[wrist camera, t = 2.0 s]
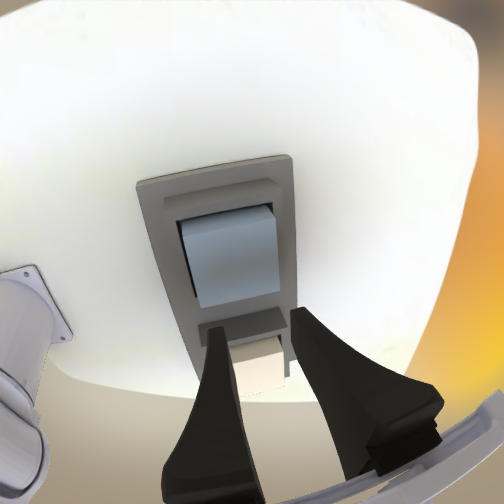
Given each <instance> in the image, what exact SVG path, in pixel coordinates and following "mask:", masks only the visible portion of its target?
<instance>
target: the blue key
mask: <svg viewBox="0 0 504 504" xmlns="http://www.w3.org/2000/svg"><path fill="white" fill-rule="evenodd" d="M182 235H183V241H184V245H185V249H186V253H187V257H188V261H189V265H190V269H191V273H192V277H193V281H194V284H195V288H196V292H197V296H198V299H199V303H200V307H201V308H205V307H210V306H215V305H219V304H224V303H229V302H233V301H238V300H242V299H246V298H251V297H255V296H260V295H264V294H268V293H272V292H277V291H280V278H279V262H278V246H277V232H276V218H275V217H274V215H273V214H272V212H271V211H270V210H269V208H268V207H267V206H266V204H264V205H259V206H254V207H248V208H243V209H238V210H232V211H227V212H222V213H217V214H212V215H207V216H202V217H197V218H193V219H188V220H183V221H182Z"/></svg>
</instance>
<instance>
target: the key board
mask: <svg viewBox="0 0 504 504" xmlns="http://www.w3.org/2000/svg"><path fill="white" fill-rule="evenodd" d="M136 191H137V195H138V199H139V203H140V206H141V210H142V214H143V217H144V221H145V225H146V228H147V232H148V235H149V239H150V242H151V246H152V249H153V252H154V255H155V259H156V262H157V265H158V268H159V272H160V275H161V278H162V281H163V284H164V287H165V290H166V293H167V296H168V299H169V302H170V305H171V308H172V310H173V313H174V316H175V319H176V322H177V324H178V327H179V330H180V333H181V335H182V338H183V341H184V343H185V346H186V349H187V351H188V354H189V356H190V359H191V361H192V364H193V366H194V369H195V371H196V374H197V376H198V379H199V381H200V382H201V378H202V374H203V369H204V363H205V357H206V349H207V331H208V330H209V329H210V328H215V327H220V326H224V330H225V335H226V339H227V343H228V347H230V346H234V345H239V344H243V343H247V342H252V341H256V340H260V339H264V338H268V337H272V336H276V335H277V337H278V340H279V342H280V344H281V347H282V349H283V354H284V378H285V377H289V376H290V371H289V361H293V360H297V357H296V355H295V352H294V349H293V346H292V343H291V328H290V310H292V309H296V308H297V261H296V228H295V203H294V182H293V164H292V158H291V157H290V156H288V155H281V156H274V157H267V158H260V159H253V160H247V161H241V162H235V163H229V164H223V165H217V166H212V167H207V168H201V169H196V170H191V171H186V172H181V173H176V174H172V175H167V176H162V177H158V178H154V179H149V180H145V181H141V182H137V185H136ZM264 204H266V206H267V207H268V208H269V210H270V211H271V212H272V214H273V215H274V217H275V218H276V232H277V246H278V262H279V278H280V291H277V292H272V293H268V294H264V295H260V296H255V297H251V298H246V299H242V300H238V301H233V302H229V303H224V304H219V305H215V306H210V307H205V308H201V307H200V303H199V299H198V296H197V292H196V288H195V284H194V281H193V277H192V273H191V269H190V265H189V261H188V257H187V253H186V249H185V245H184V241H183V235H182V221H183V220H188V219H193V218H197V217H202V216H207V215H212V214H217V213H222V212H227V211H232V210H238V209H243V208H248V207H254V206H259V205H264Z"/></svg>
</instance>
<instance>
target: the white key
mask: <svg viewBox="0 0 504 504" xmlns="http://www.w3.org/2000/svg"><path fill="white" fill-rule="evenodd" d="M229 351H230V355H231V359H232V364H233V368H234V372H235V375H236V381H237V388H238V394H239V398H240V397H245V396H249V395H253V394H257V393H261V392H265V391H269V390H273V389H277V388H280V387H284V386H285V378H284V354H283V349H282V347H281V344H280V342H279V340H278V337H277V335H276V336H272V337H268V338H264V339H260V340H256V341H252V342H247V343H243V344H239V345H234V346H230V347H229Z"/></svg>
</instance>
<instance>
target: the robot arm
mask: <svg viewBox="0 0 504 504" xmlns="http://www.w3.org/2000/svg"><path fill="white" fill-rule="evenodd" d="M26 272H27V273H28V274H29V275H28V274H26ZM290 328H291V343H292V346H293V349H294V352H295V355H296V357H297V360H298V362H299V364H300V366H301V368H302V370H303V372H304V374H305V376H306V378H307V380H308V382H309V384H310V386H311V388H312V390H313V392H314V393H315V395H316V397H317V399H318V401H319V404H320V406H321V408H322V411H323V413H324V416H325V419H326V421H327V424H328V427H329V430H330V432H331V435H332V438H333V441H334V444H335V447H336V450H337V453H338V455H339V459H340V462H341V465H342V469H343V472H344V475H345V479H346V481H345V482H343V483H340V484H338V485H335V486H332V487H329V488H326V489H324V490H321V491H318V492H315V493H312V494H308V495H305V496H302V497H298V498H295V499H292V500H288V501H284V502H281V503H277V504H332V503H335V502H338V501H340V500H343V499H346V498H348V497H351V496H353V495H355V494H358V493H360V492H362V491H365V490H367V489H370V488H372V487H374V486H376V485H378V484H381V483H383V482H385V481H387V480H389V479H391V478H393V477H395V476H397V475H399V474H401V473H403V472H404V471H406V472H404V473H403V474H401V475H400V476H398V477H396V478H394V479H393V480H391V481H389V483H388V485H386V486H385V487H384V488H382V489H381V490H379V491H378V494H377V495H375V496H372V497H370V498H368V499H365V500H363V501H360V502H358V503H355V504H433V502H432V500H431V498H432V497H434V496H435V495H437V494H438V493H440V492H441V491H443V490H444V489H446V488H447V487H449V486H450V485H452V484H453V483H455V482H456V481H457V480H459V479H460V478H462V477H463V476H464V475H466V474H467V473H468V472H470V471H471V470H472V469H473V468H475V467H476V466H477V465H479V464H480V463H481V462H482V461H483V460H485V459H486V458H487V457H488V456H490V455H491V454H492V453H493V452H494V451H495V450H496V449H497V448H499V447H500V446H501V445H502V444H503V443H504V394H503V393H502V391H501V390H500V389H498V390H497V391H495V392H494V393H493V394H492V395H490V396H489V397H488V398H487V399H485V400H484V401H483V402H482V403H481V404H480V405H479V406H478V408H477V409H476V411H474V412H473V413H472V414H470V415H469V416H467V417H466V418H464V419H463V420H462V421H460V422H459V423H457V424H456V425H454V426H453V427H451V428H449V429H448V430H447V431H445V432H443V433H442V434H440V435H439V433H438V432H437V430H436V429H435V428H436V427H437V424H436V422H435V420H434V419H435V417H436V416H437V415H438V413H439V412H440V410H441V409H442V408H443V406H444V400H443V398H442V397H441V395H440V394H439V392H438V391H437V390H436V389H435V387H434V386H433V385H431V384H427V383H424V382H420V381H417V380H414V379H411V378H408V377H406V376H403V375H401V374H398V373H396V372H394V371H392V370H390V369H387V368H385V367H383V366H381V365H379V364H378V363H376V362H374V361H372V360H370V359H369V358H367V357H365V356H364V355H362V354H361V353H359V352H358V351H356V350H355V349H353V348H352V347H351V346H349V345H348V344H346V343H345V342H344V341H342V340H341V339H340V338H339V337H337V336H336V335H335V334H334V333H333V332H331V331H330V330H329V329H328V328H327V327H325V326H324V325H323V324H322V323H321V322H320V321H319V320H318V319H317V318H316V317H315V316H314V315H312V314H311V313H310V312H309V311H308V310H307V309H306V308H305V307H300V308H296V309H292V310H290ZM62 336H63V337H62ZM72 338H73V335H72V333H71V331H70V330H69V328H68V326H67V325H66V323H65V321H64V320H63V318H62V316H61V314H60V313H59V311H58V309H57V307H56V305H55V304H54V302H53V300H52V298H51V296H50V294H49V293H48V291H47V289H46V287H45V285H44V283H43V281H42V279H41V277H40V275H39V273H38V271H37V269H36V268H35V267H34V266H27V267H23V268H20V269H16V270H12V271H9V272H5V273H1V274H0V504H28V503H29V501H30V499H31V497H32V496H33V495H34V493H35V492H36V491H37V490H38V489H39V488H40V487H41V485H42V484H43V482H44V481H45V479H46V477H47V474H48V471H49V467H50V446H49V443H48V439H47V437H46V435H45V434H44V432H43V431H42V430H41V429H40V428H38V426H39V420H40V414H38V413H37V412H36V411H35V409H34V403H35V399H36V395H37V391H38V386H39V382H40V378H41V374H42V370H43V367H44V363H45V360H46V356H47V353H48V349H49V346H50V344H53V343H60V342H67V341H71V340H72ZM408 469H409V470H408ZM407 470H408V471H407ZM161 490H162V497H163V502H164V503H165V504H265V503H266V502H265V498H264V495H263V492H262V489H261V485H260V482H259V479H258V475H257V472H256V468H255V465H254V462H253V458H252V455H251V451H250V447H249V444H248V441H247V437H246V433H245V429H244V425H243V420H242V414H241V407H240V401H239V394H238V388H237V381H236V375H235V372H234V368H233V364H232V359H231V355H230V351H229V347H228V343H227V339H226V335H225V330H224V326H220V327H215V328H210V329H209V330H208V331H207V349H206V357H205V363H204V369H203V374H202V378H201V382H200V386H199V390H198V393H197V396H196V400H195V403H194V406H193V408H192V411H191V414H190V416H189V419H188V421H187V424H186V426H185V428H184V430H183V432H182V434H181V437H180V439H179V440H178V443H177V445H176V446H175V448H174V450H173V452H172V453H171V455H170V457H169V458H168V460H167V462H166V463H165V465H164V467H163V471H162V479H161Z"/></svg>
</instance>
